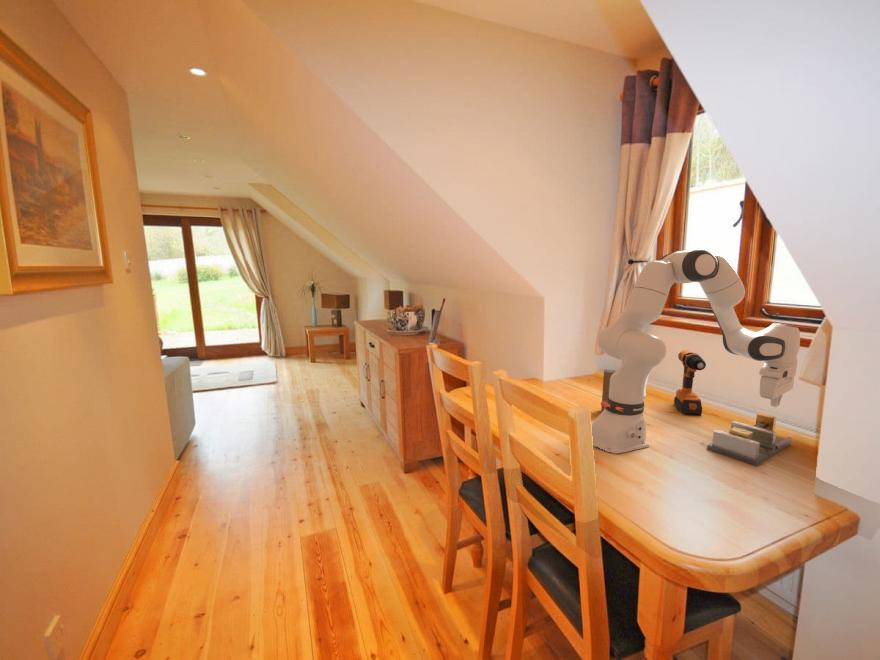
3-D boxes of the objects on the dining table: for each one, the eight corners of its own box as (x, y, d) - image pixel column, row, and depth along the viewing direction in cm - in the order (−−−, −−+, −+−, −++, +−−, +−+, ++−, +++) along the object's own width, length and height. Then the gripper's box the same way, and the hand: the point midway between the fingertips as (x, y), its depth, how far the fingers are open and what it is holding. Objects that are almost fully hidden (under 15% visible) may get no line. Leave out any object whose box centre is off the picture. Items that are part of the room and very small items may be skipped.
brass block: (745, 452, 130) (747, 435, 129) (727, 446, 134) (729, 429, 133) (750, 449, 132) (753, 432, 131) (733, 443, 136) (735, 427, 135)
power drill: (708, 421, 159) (715, 359, 155) (687, 420, 161) (693, 358, 157) (690, 403, 180) (696, 348, 176) (672, 402, 182) (677, 347, 178)
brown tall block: (624, 413, 168) (628, 371, 165) (624, 417, 164) (628, 374, 161) (601, 410, 172) (604, 369, 169) (601, 413, 168) (603, 371, 165)
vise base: (756, 466, 124) (759, 446, 123) (706, 449, 136) (708, 430, 135) (790, 444, 139) (793, 426, 138) (743, 430, 151) (745, 413, 150)
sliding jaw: (771, 448, 132) (774, 428, 131) (729, 435, 142) (731, 417, 141) (786, 439, 139) (789, 420, 138) (745, 427, 149) (747, 410, 148)
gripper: (780, 362, 152) (775, 397, 154) (757, 371, 141) (753, 409, 143) (801, 365, 147) (796, 402, 149) (780, 375, 136) (775, 414, 138)
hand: (775, 405), depth 146 cm, fingers closed
